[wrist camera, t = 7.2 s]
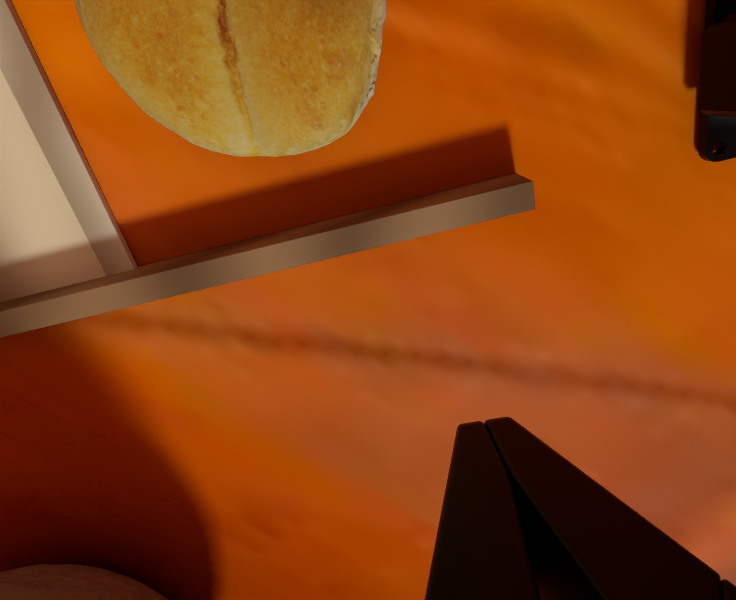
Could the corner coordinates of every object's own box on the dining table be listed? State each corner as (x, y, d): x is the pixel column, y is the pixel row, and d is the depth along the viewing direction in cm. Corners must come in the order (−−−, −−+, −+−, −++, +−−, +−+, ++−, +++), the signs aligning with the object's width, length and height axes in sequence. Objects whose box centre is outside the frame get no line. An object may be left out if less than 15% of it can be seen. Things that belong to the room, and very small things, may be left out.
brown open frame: (465, -308, 12) (500, -436, 9) (518, 198, 18) (550, 218, 15) (-343, -48, 14) (-527, -86, 11) (-64, 340, 20) (-137, 382, 17)
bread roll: (83, -170, 13) (-17, -282, 9) (397, -115, 14) (421, -195, 10) (114, 139, 16) (49, 149, 12) (367, 166, 17) (377, 182, 13)
